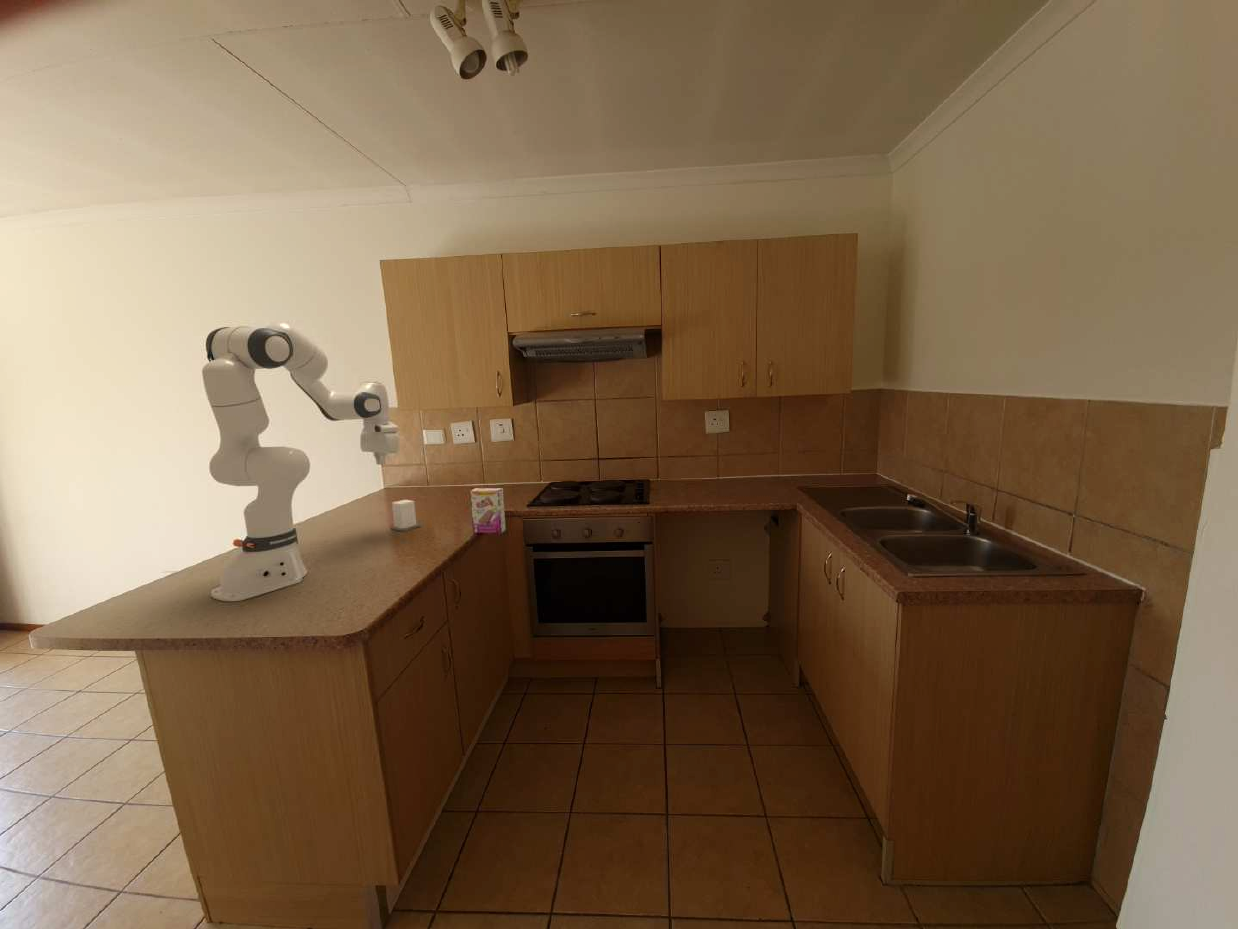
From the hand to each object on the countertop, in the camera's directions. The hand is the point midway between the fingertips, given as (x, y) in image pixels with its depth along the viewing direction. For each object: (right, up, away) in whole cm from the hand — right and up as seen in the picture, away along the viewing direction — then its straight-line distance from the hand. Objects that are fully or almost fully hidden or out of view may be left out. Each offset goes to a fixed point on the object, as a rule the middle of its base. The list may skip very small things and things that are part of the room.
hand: (380, 464), depth 179 cm
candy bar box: (+40, -26, +2) cm, 47 cm away
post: (+4, -25, +11) cm, 28 cm away
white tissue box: (+4, -24, +11) cm, 27 cm away
